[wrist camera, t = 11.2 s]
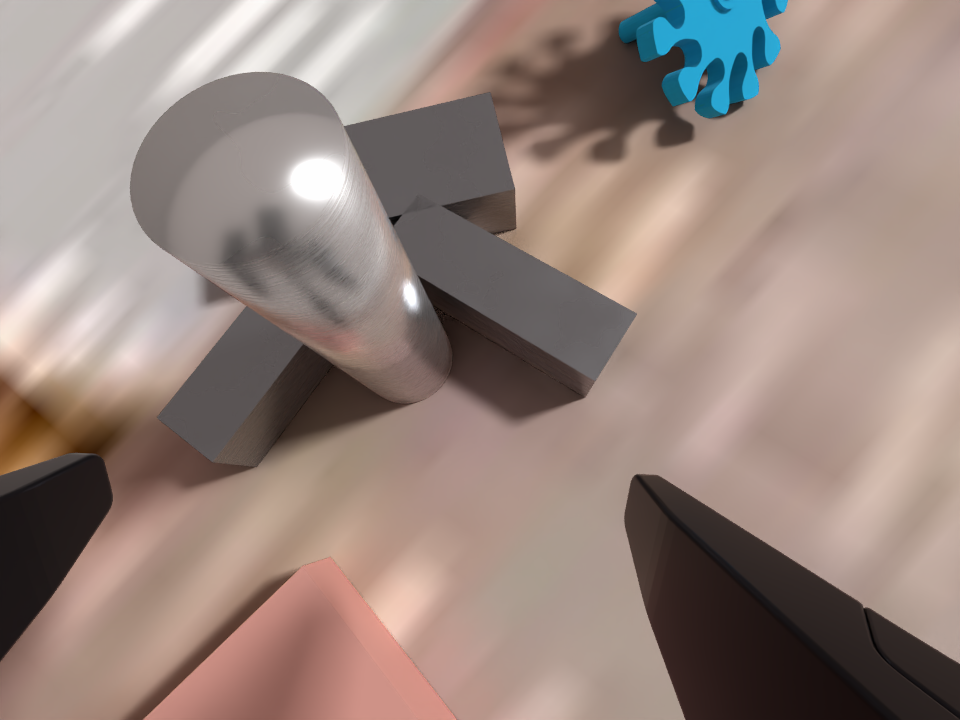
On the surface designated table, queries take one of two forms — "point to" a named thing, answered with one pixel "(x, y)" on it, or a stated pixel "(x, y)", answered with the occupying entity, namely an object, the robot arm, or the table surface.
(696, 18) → the gear
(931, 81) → the table surface
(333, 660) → the beam plate
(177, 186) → the axle
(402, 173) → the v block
